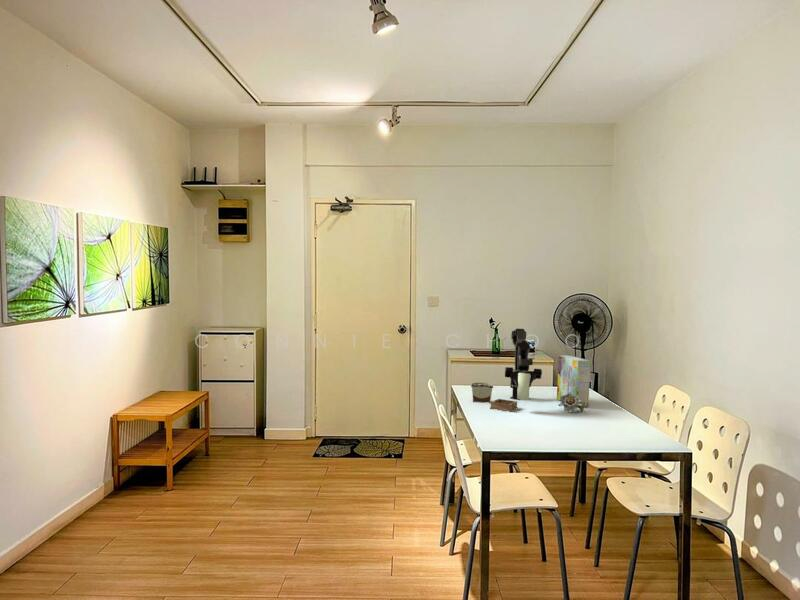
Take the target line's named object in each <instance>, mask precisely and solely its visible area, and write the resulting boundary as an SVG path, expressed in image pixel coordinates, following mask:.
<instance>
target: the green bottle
mask: <svg viewBox="0 0 800 600" xmlns="http://www.w3.org/2000/svg"><path fill="white" fill-rule="evenodd" d="M529 385H530V374H529V373H518V389H517V399H516V400H519V399H520V400H521V401H529V400H530V387H529ZM520 400H519V401H520Z"/></svg>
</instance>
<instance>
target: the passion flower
mask: <svg viewBox="0 0 800 600" xmlns="http://www.w3.org/2000/svg"><path fill="white" fill-rule="evenodd" d="M573 396H574V395H573ZM573 396H572V393H571V392H569V394H567V395H565V396H564V395H562V397H561V399H560V400H561V402H560V403H558V407H563V411H565V412H566V411H567V412H568V414H570V413H572V410H573V411H575V412H576V411H578V409H579V410H580V412H581V413H583V412H584V410H585V409H584V407H582V406H583V405H582V403H581V400H578V399H577V398H578V397H579V396H574V397H573ZM560 400H559V401H560ZM577 406H578V407H577Z"/></svg>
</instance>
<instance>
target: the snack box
mask: <svg viewBox="0 0 800 600" xmlns="http://www.w3.org/2000/svg"><path fill="white" fill-rule="evenodd" d="M591 365H592V360H591V359H590V360H589V359H585V358H581V357H578V356H574V355H573V356H572V355H558V368H557V386H556V387H557V388H556V400H558V401H561V400H560V399H561V397H562V395H564V396H565V395H567V394H569V392H571V393H572V396H573V395H574V396H579V397H578V398H577V399H578V400H581V403H582V405H583V406H582V407H583V408H587V407H589V399H590V398H589V397H590V385H591V384H590V383H591V382H590V380H591V367H592V366H591ZM574 396H573V397H574ZM561 402H562V401H561ZM577 408H579V407H578V406H577Z"/></svg>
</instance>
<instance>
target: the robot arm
mask: <svg viewBox="0 0 800 600" xmlns="http://www.w3.org/2000/svg"><path fill="white" fill-rule="evenodd" d="M510 334H511V337H510V339H511V341H512V343H511V344H512V345H513V346H514V368H513V367H511V366H510V367H508V366H507V367H504V368H505V369H504V377H505V378H509V379H510V381H509V382H510V383H509V387H510V389H512V394H511V395H512V396H510V399H512V398H514V400H518V399H517V389H518V373H529V374H530V385H529V388H531V387H532V384H533V382H534V381H536V379H538V380H541V379H542V374H543V369H541V368H533V370H532V371H531V370H530V366H533V362H534V361H533V358H529V354H530V353H529V352H530V350H532V347H531V345H530V344H529V341H528V340H527V331H526V330H525V329H524V328H515V329H514V330H512V331H511V333H510Z"/></svg>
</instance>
